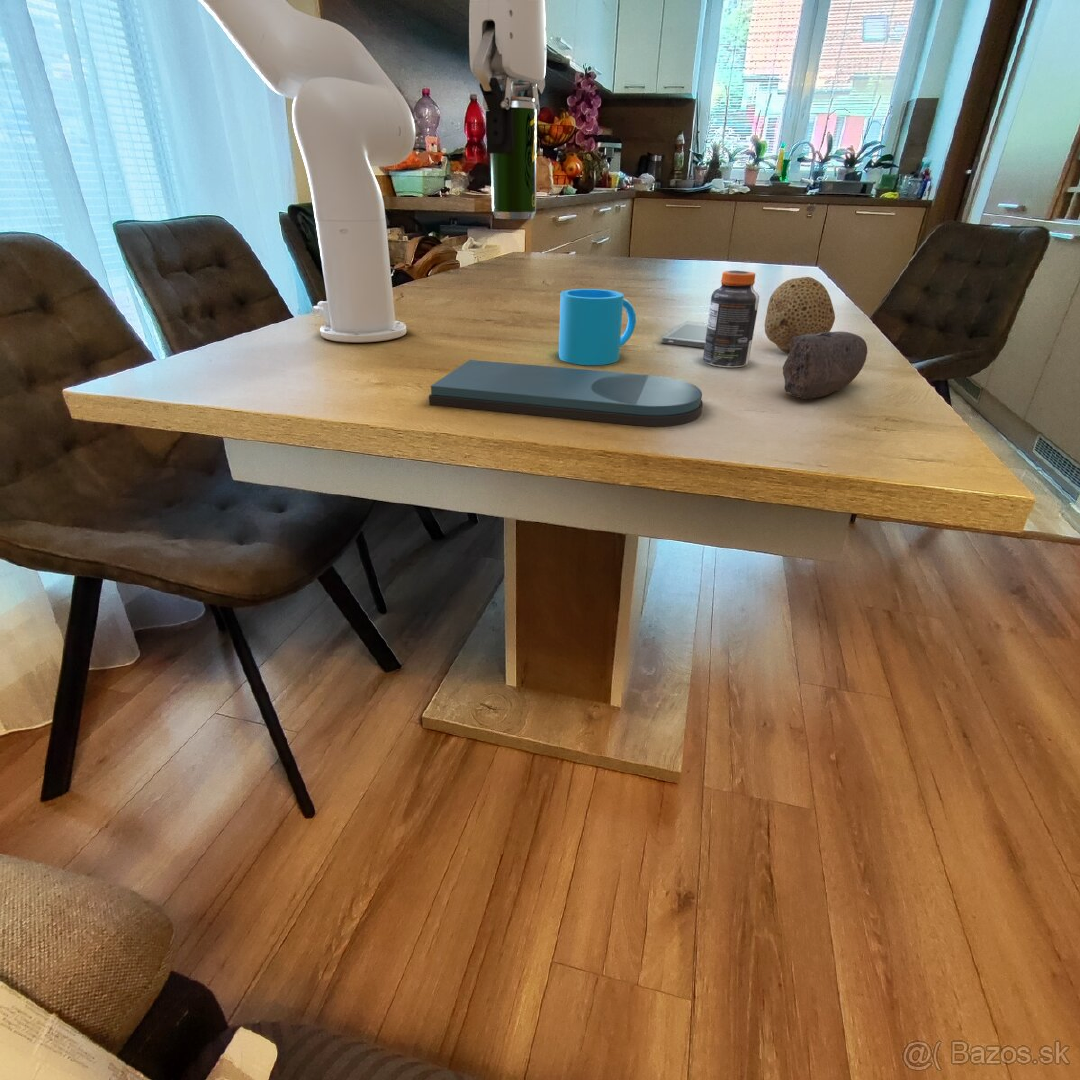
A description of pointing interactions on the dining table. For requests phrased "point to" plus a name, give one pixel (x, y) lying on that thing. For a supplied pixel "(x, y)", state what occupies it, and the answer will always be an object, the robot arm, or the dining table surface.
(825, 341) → the rock
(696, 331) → the smartphone
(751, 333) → the pill bottle
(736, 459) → the dining table surface
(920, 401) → the dining table surface
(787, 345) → the natural sponge
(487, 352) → the dining table surface
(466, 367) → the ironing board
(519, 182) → the beer can
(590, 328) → the mug
